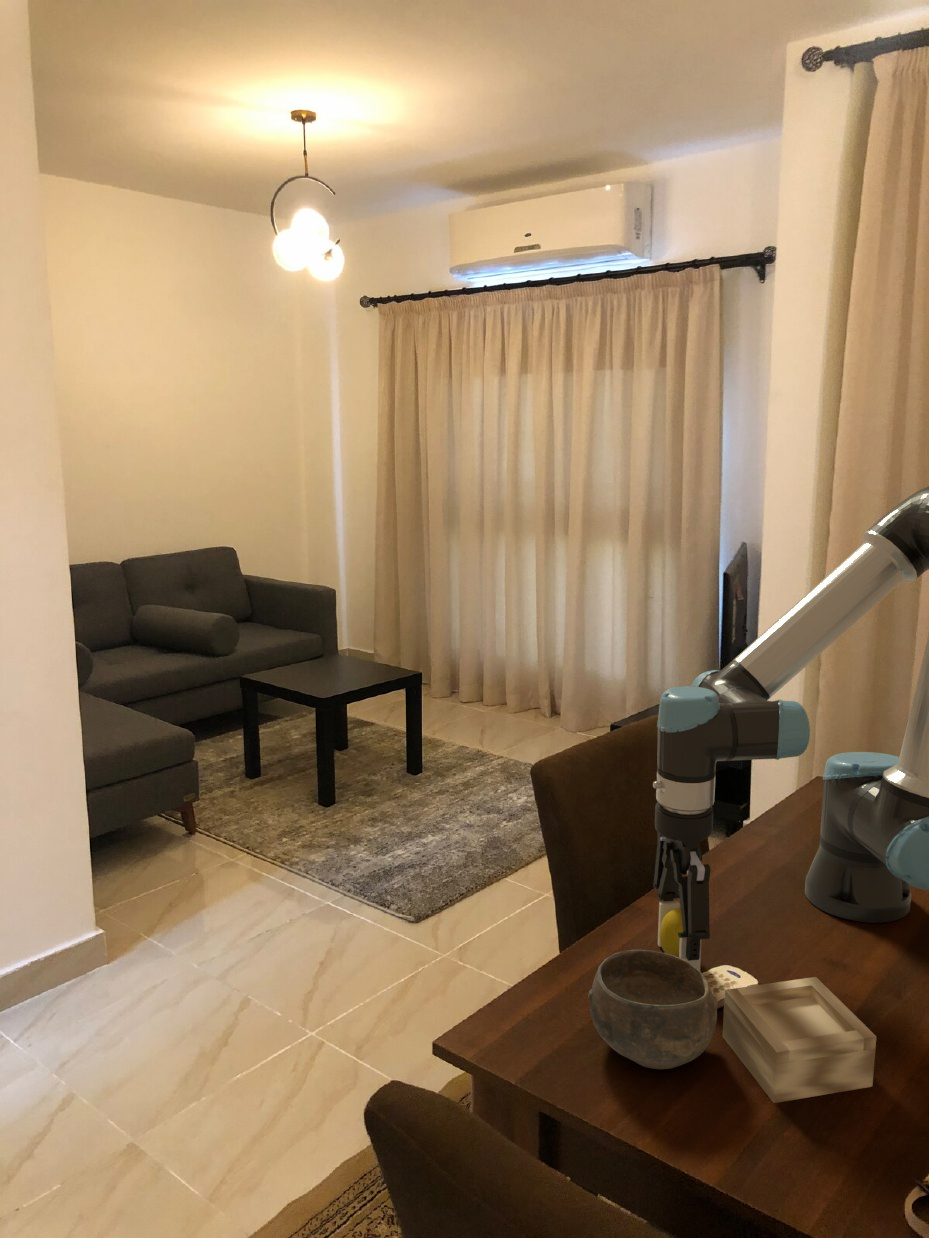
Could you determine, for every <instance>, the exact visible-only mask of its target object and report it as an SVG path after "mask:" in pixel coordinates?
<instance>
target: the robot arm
mask: <svg viewBox="0 0 929 1238" xmlns="http://www.w3.org/2000/svg"><path fill="white" fill-rule="evenodd" d="M927 571H929V485H927V486H926V487H923V488H921V489H919V490H917V491H916V492H914V493H912V494H910V495H909V496H908V497H906V498H905V499H903V500H902V501H901V502H899V503H898V504H897V505H896V506H894V507H892V508H891V509H890V510H888V511H887V512H886V513H885V514H884V515H883V516H882V517H880V519H878V520H877V521H876V522H875V523H874V524H873V525H872V526H870V528H868V529H867V530H866V531H865V532H864V533H863V534H862V544H861V545H860V546H859V547H858V548H857V549H856V550H854V551H853V552H852V553H851V554H849V556H848V557H847V558H846V559H845V560H843V561H842V562H841V563H840V564H839V565H838V566H836V567H835V568H834V569H833V570H832V571H831V572H830V573H829V574H828V575H826V576H825V577H824V578H823V579H822V580H821V581H819V582H818V584H816V585H815V586H814V587H813V588H812V589H811V590H810V591H809V592H808V593H806V594H805V595H804V596H803V597H802V598H801V599H800V600H799V601H798V602H797V603H795V604H794V605H793V606H792V607H791V608H790V609H789V610H787V611H786V612H785V613H784V614H783V615H781V617H779V619H777V620H776V621H775V622H774V623H773V624H772V625H770V626H769V627H768V629H767V628H766V630H765V631H764V632H763V633H762V634H760V635H759V636H758V637H757V638H756V639H755V640H754V641H753V642H751V644H749V645H748V646H747V647H746V648H745V649H744V650H743V651H742V652H740V653H739V654H738V655H737V656H736V657H735V658H733V659H732V661H730V662H729V663H728V664H727V665H726V666H724V667H723V668H722V669H721V670H718V669H711V670H707V671H704V672H702V673H701V674H699V675H698V676H696V678H694V680H693V681H692V684H691V685H690V686H687V685H684V686H673V687H671V688H668V689H666V690H665V691H663V692H662V694H661V696H660V700H659V701H660V702H659V706H658V715H657V716H658V717H657V718H658V719H657V723H656V727H657V763H656V764H657V766H656V780H655V781H653V782H652V787H653V788H654V789H656V790H655V791H656V792H655V797H656V798H655V799H656V801H657V802H656V803H655V807H654V809H655V810H654V811H655V812H654V828H655V831H656V832H657V844H656V845H657V846H656V856H655V865H654V866H655V867H654V875H653V876H654V878H653V885H652V886H653V889H654V890H658V891H657V894H656V895H657V898H658V900H659V902H658V925H657V926H658V927H657V928H658V929H657V946H658V947H659V948H662V947H661V944H660V936H659V932H660V926H661V923H662V920H663V918H664V916H665V915H666V914H667V913H668V912H670V911H672V910H674V909H678V908H681V914H682V925H683V932H678V936H679V938H680V943H679V958H681V959H683V960H685V961H688V962H689V963H691V964H692V965H694V966H695V967H696V968H697V969H699V971H700V972H701V961H702V960H701V958H702V957H701V956H702V940H707V939H710V935H711V933H710V931H711V929H710V927H711V926H710V877H711V869H712V868H711V866H710V864H709V863H705V864H703V863H702V861H703V853H702V852H703V851H702V849H701V846H700V844H701V843H702V841H704V840H706V839H709V837H710V836H711V835H712V833H713V831H714V830H713V827H714V825H713V824H714V808H713V807H712V806H714V803H715V794H716V793H715V791H716V790H715V789H716V767H717V766H716V765H717V762H727V761H730V762H731V761H749V760H751V761H752V760H753V761H755V760H757V761H758V760H776V761H778V760H780V759H788V758H795V757H799V756H801V755H803V754H804V752H805V751H806V750H807V748H808V746H809V744H810V736H811V725H810V721H809V720H810V719H809V716H808V713H807V712H806V710H805V708H804V707H803V705H802V704H801V703H799V702H798V701H795V700H782V699H776V700H773V701H772V700H770V699H771V698H772V697H773V696H774V695H775V694H776V693H778V692H779V691H780V690H781V689H782V688H783V687H784V686H785V685H786V684H788V683H789V682H790V681H791V680H792V679H793V678H795V677H796V676H797V675H798V674H799V673H800V672H802V670H804V669H805V668H806V667H807V666H808V665H809V664H810V663H812V662H813V661H814V660H815V659H816V658H817V657H818V656H819V655H820V654H822V653H823V652H824V651H825V650H827V648H829V647H830V646H831V645H832V644H833V643H834V642H835V641H836V640H838V639H839V638H840V637H841V636H843V635H844V633H847V631H848V630H849V629H850V628H851V627H852V626H854V625H855V624H856V623H857V622H858V621H859V620H861V618H863V617H864V616H865V615H866V614H868V612H869V611H871V610H872V609H873V608H874V607H875V606H876V605H878V604H879V603H880V602H881V601H882V600H883V599H884V598H886V597H887V596H888V595H889V594H890V593H891V592H892V591H893V590H895V588H897V587H898V586H900V584H901V583H912V582H916V580H917V579H918V578H920V576H921V575H922V574H924V573H926V572H927ZM911 703H912V704H911V706H910V710H909V711H910V712H909V716H908V720H907V724H906V727H905V731H904V736H903V740H902V745H901V748H900V749H901V750H900V754H899V756H897V755H893V754H890V753H889V754H888V753H883V752H871V751H870V752H869V751H850V752H842V753H837V754H834V755H832V756H830V757H829V758H828V759H827V760H826V762H825V765H824V767H825V768H824V770H823V771H824V772H823V776H822V782H823V783H822V784H823V785H822V800H821V801H822V803H821V819H820V835H819V836H820V838H819V847H818V848H817V851H816V853H815V856H814V858H813V860H812V862H811V865H810V867H809V870H808V871H807V873H806V877H805V880H804V881H805V882H804V885H805V886H804V894H805V896H806V898H807V900H808V901H809V902H810V903H811V904H812V905H814V906H815V907H816V908H818V909H820V910H821V911H822V912H825V913H827V914H830V915H832V916H835V917H838V918H842V919H845V920H849V921H854V922H862V923H870V924H871V923H872V924H873V923H874V924H875V923H876V924H877V923H889V922H890V923H891V922H895V921H898V920H900V919H902V918H903V919H904V918H905V917H906V916H907V915H908V914H909V913H910V910H911V904H912V903H911V902H912V892H911V887H913V888H916V889H919V890H924V891H929V633H928V635H927V639H926V643H925V647H924V652H923V656H922V660H921V665H920V669H919V673H918V678H917V682H916V685H915V691H914V694H913V698H912V702H911ZM684 875H687V876H684ZM910 886H911V887H910ZM677 899H679V900H677Z"/></svg>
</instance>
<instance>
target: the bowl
mask: <svg viewBox="0 0 929 1238" xmlns="http://www.w3.org/2000/svg"><path fill="white" fill-rule="evenodd" d="M712 990H713V989H712V987H711V986H710V984H709V982H708V979H707V978H706V977H705V975H704V974H703V973H702V972H701V970H700V971H699V969H697V968H696V967H695V966H694V965H692V964H691V963H689V962H688V961H685V960H683V959H681V958H679V957H676V956H673V955H670V954H666V953H665V952H662V951H661V952H660V951H656V950H651V949H647V950H646V949H627V950H621V951H619V952H618V951H617V952H615V953H613V954H611V955H609V956H608V957H606V958H605V959H604V960H603V961H602V962H601V963H600V965H598V968H597V971H596V973H595V974H594V977H593V982H592V986H591V989H590V990H589V991H588V995H587V997H588V1001H589V1011H590V1017H591V1021H592V1024H593V1026H594V1028H595V1029H596V1030H595V1031H596V1032H597V1034H598V1035H599V1037H600V1038H601V1039H603V1041H604V1042H605V1043H606V1044H607V1045H608V1046H609V1047H610V1048H611V1049H613V1050H614V1051H615V1052H617V1054H619V1055H621V1056H623V1057H624V1058H626V1059H629V1060H631V1061H633V1062H635V1063H636V1064H638V1065H639V1066H642V1067H644V1068H648V1069H655V1070H671V1069H673V1068H677V1067H678V1068H679V1067H680V1066H683V1065H685V1064H688V1063H691V1062H692V1061H694V1060H695V1059H697V1058H698V1057H699V1056H701V1055H702V1054H703V1053H704V1052H705V1051H706V1049H707V1048H708V1047H709V1045H710V1044H711V1042H712V1040H713V1038H714V1035H715V1030H716V1026H717V1021H718V1006H719V1000H718V997H717V996H716V995H715V994H714V993H713V991H712Z"/></svg>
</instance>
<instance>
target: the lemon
mask: <svg viewBox="0 0 929 1238" xmlns="http://www.w3.org/2000/svg"><path fill="white" fill-rule="evenodd" d="M678 932H683V925H682V914H681V907H679V908H678V909H674V910H672V911H670V912H668V913H667V914H666V915H665V916H664V918H663V920H662V923H661V926H660V932H659V936H660V944H661V947H660V948H661V949H662V951H663V953H666V954H670V955H673V956H676V957H679V943H680V938H679V936H678Z"/></svg>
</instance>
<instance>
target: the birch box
mask: <svg viewBox="0 0 929 1238" xmlns="http://www.w3.org/2000/svg"><path fill="white" fill-rule="evenodd" d="M723 1001H724V1002H723V1018H722V1019H723V1024H722V1038H723V1039H724V1040H725V1042H726V1043H727V1044H728V1046H729V1047H730V1048H731V1050H732V1051H733V1052H734V1054H735V1055H736V1057H738V1058H739V1060H740V1061H741V1063H742V1064H743V1065H744V1066H745V1068H746V1069H747V1070H748V1071H749V1073H750V1074H751V1075H752V1078H754V1080H756V1082H757V1084H758V1085H759V1086H760V1087H761V1088H762V1090H763V1091H764V1093H765V1094H766V1095H767V1096H768V1098H769V1099H770V1100H771V1102H772V1103H773V1104H777V1103H782V1102H783V1103H784V1102H791V1101H794V1100H800V1099H807V1098H811V1097H818V1096H824V1095H829V1094H830V1095H831V1094H835V1093H842V1092H848V1091H854V1090H860V1089H866V1088H871V1087H873V1083H874V1072H875V1071H874V1070H875V1058H876V1047H877V1045H876V1044H877V1043H876V1042H877V1035H876V1034H874V1032H872V1031H871V1030H870V1029H869V1027H867V1026H866V1024H865V1023H864V1022H862V1020H860V1019H859V1018H858V1017H857V1015H856V1014H854V1013H853V1012H852V1011H851V1010H850V1009H849V1008H848V1007H847V1006H846V1005H845V1004H844V1003H843V1002H842V1000H840V998H838V997H837V996H836V995H835V993H833V992H832V991H831V990H830V989H829V988H828V987H827V986H826V985H824V983H823V982H822V981H821V980H819V978H818V977H817V976H813V977H812V976H811V977H804V978H798V979H792V980H784V981H777V982H771V983H770V982H769V983H764V984H763V983H762V984H756V985H750V986H749V985H747V986H742V987H736V988H728V989H724V999H723Z"/></svg>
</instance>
